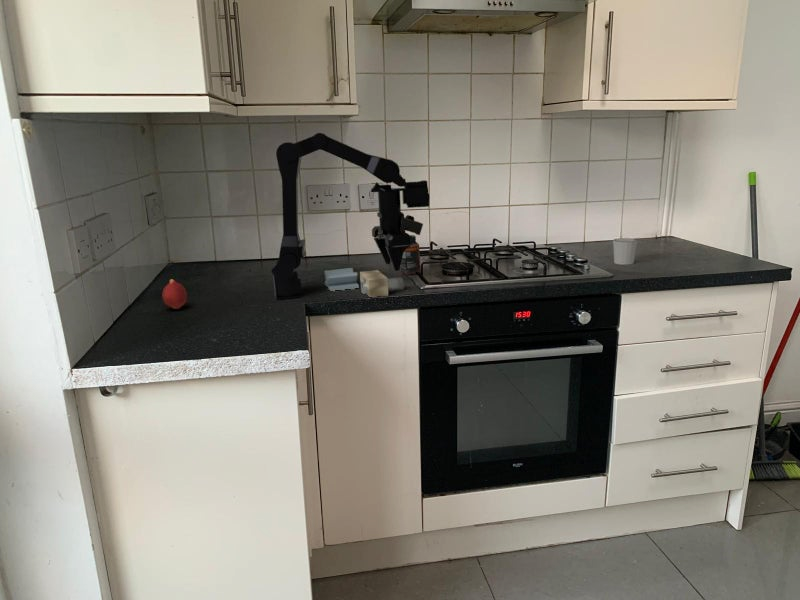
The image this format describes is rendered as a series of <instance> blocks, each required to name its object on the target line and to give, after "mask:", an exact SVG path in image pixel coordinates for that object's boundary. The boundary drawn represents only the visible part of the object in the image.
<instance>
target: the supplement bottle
mask: <svg viewBox="0 0 800 600" xmlns="http://www.w3.org/2000/svg"><path fill="white" fill-rule="evenodd" d="M409 235H410V236H411V237H412V245H410V247H409V248H407V249H406V250H405V251H404V253H403V257H402V261H401V265H400V273H401V274H402V275H405V276H412V275H411V274H414V273H416V272H420V273H421V253H420V252H421V251H420V243H418V242H417V241H416V239H417V238H416V237H417V236H416V235H414V234H409Z"/></svg>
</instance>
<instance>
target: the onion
mask: <svg viewBox="0 0 800 600" xmlns="http://www.w3.org/2000/svg"><path fill="white" fill-rule="evenodd" d="M168 281H169V282H168V283H167V284H166V286H165V287H164V288H163V290H162V294H161V295H162V301H163V302H164V304H165V305H167V306H168V307H170V308H172V309H173V310H174V309H178V310H179V309H180V308H182V307H183V306H184V305H185V303H186V302H187V299H188V297H187V296H188V295H187V294H188V293H187V290H186V288H185V287H184V286H183V285H182V284H181V283H179V282H177V281H175V280H174V279H170V280H168Z"/></svg>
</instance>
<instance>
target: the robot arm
mask: <svg viewBox="0 0 800 600" xmlns="http://www.w3.org/2000/svg"><path fill="white" fill-rule="evenodd" d="M319 150H321V151H324V152H326V153H329V154H331V155H332V156H335V157H338V158H339V159H342V160H344V161H345V162H349V163H351V164H353V165H356V166H358V167H360V168H362V169H363V170H365V171H366V172H368V173H370V174H371V175H372V176H373V177H375V178H377V179H379V180H380V181H381V182H383V183H386V184H379V182H377V181H376V182H375V183H374V185H373V187H372V188H370V192H371V193H377V197H378V211H377V213H376V215H377V218H379V220H378V221H379V225H376V226H375V225H374V226H373V228H372V229H371V236H372V237H373V240H374V242H375V244H376V246H377V249H378V251H379V253H380V255H381V256H382V258H383V260H384V262H385V264H386V265H390V264H391V263H392V267H393V269H394V271H395V272H397V271H401V261H402V257H403V253H404V251H405V250H406V249H407V248H409V247H410V245H412V237H411V236H410V235H411V234H409V233H407V232H410V233H413V234H415V235H418V236H421V232H422V229H423V226H424V223H422V222H421V221H416V220H415V216H412V215H409V214H407V215H405V213H404V212H402V208H401V198H402V204H403V205H406V206H407V207H406V208H408V209H409V208H412V209H413V208H414V209H415V208H429V207H430V193H429V186H428V181H427V180H420V181H406V178H404V177H403V176H402V175H401V174H400V173H401V171H400V167H399V165H398V163H397V162H395V161H394V160H393V159H390V158H384V157H382V156H381V157H380V156H378V155H372V154H369V153H366V152H363V151H362V150H360V149H357V148H355V147H352V146H350V145H348V144H346V143H344V142H341V141H339V140H337V139H334V138H333V137H330V136H328V135H326V133H322V132H317V133H315V134H314V135H312V136H310V137H307V138H305V139H302V140H300V141H298V142H292V141H289V142H283V143H281V144H279V145H278V147H277V149H276V152H275V154H276V156H275V157H276V161H277V166H278V170H279V173H280V177H281V192H282V193H281V194H282V195H281V197H282V200H281V201H282V232H283V233H282V238H281V244H280V248H279V255H278V260H277V262H275V264H274V265H273V267H272V268H271V270H270V271H271V273H272V278H273V279H272V280H273V286H274V287H273V289H274V292H273V293H274V294H273V295H274V297H275V300H276V301H277V300H285V299H295V298H301V297H302V296H301V295H302V283H301V282H302V281H301V278H300V276H299V274H298V272H297V271H296V270H297V268H298V267H300V265H301V263H302V261H303V259H305V256H306V254H307V252H306V249H305V245H306V239H301V238H300V234H299V233H300V232H299V200H298V199H299V197H298V196H299V195H298V194H299V193H298V192H299V190H298V187H299V186H298V179H299V173H300V168H301V163H302V158H303V157H304V156H308V155H309V154H312V153H315V152H317V151H319ZM391 183H393V184H394V185H396V186H397V187H394V188H393V187H392V185H391ZM401 192H402V193H401ZM401 195H402V197H401Z"/></svg>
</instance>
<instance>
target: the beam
mask: <svg viewBox="0 0 800 600" xmlns="http://www.w3.org/2000/svg"><path fill="white" fill-rule="evenodd" d="M359 278H360V280H359V282H360V283H361V282H363V281H366V286H367V294H366V296H367V295H368V296H369V297H372V298H378V297H377V296H381V297H388V296H389V292H388V280H387V279H388V277H387V276H386V275H385V274H383V273H382V272H381V271H379V270H378V269H375V270H374V269H373V270H366V271H359ZM368 296H367V297H368ZM369 297H368V298H369Z"/></svg>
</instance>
